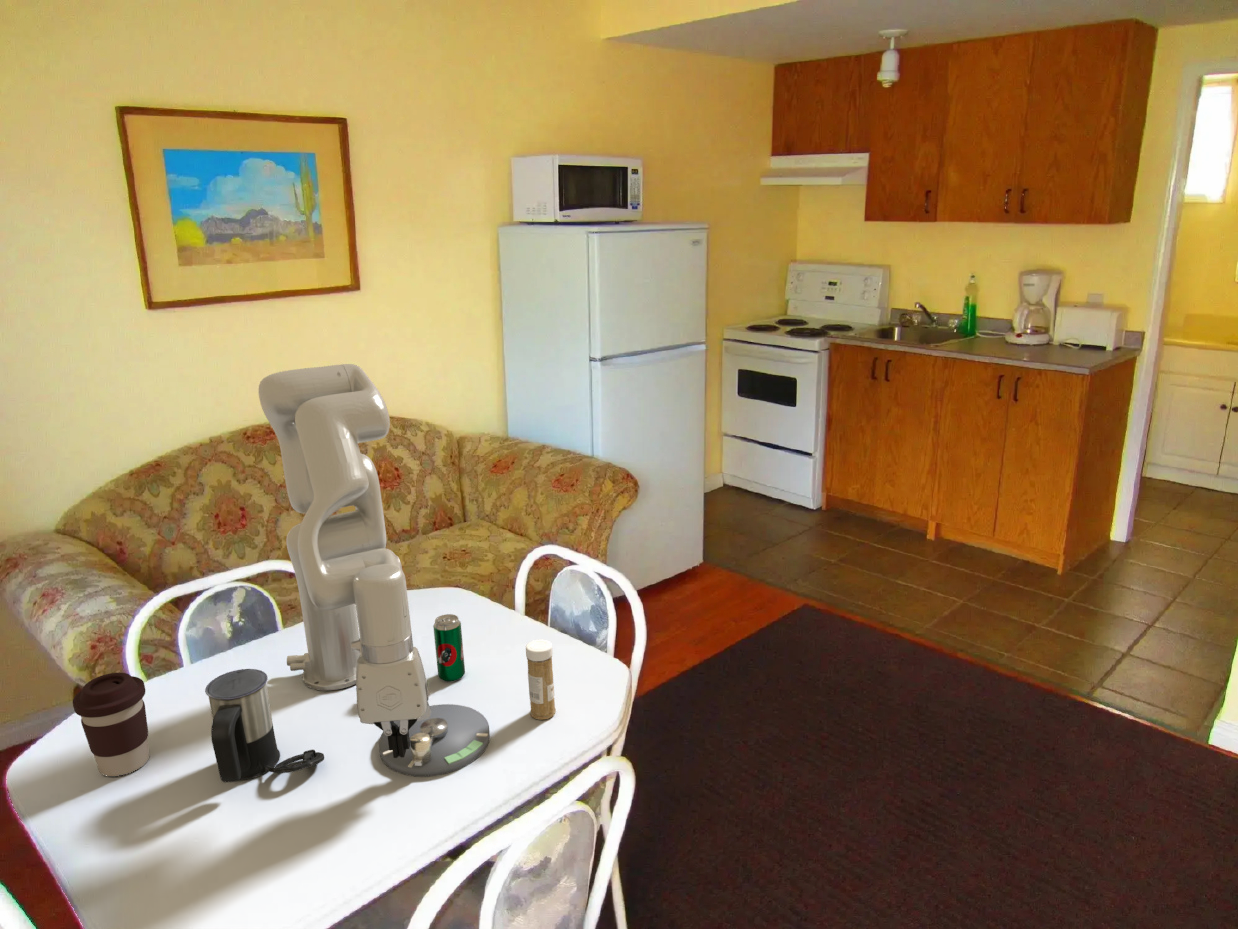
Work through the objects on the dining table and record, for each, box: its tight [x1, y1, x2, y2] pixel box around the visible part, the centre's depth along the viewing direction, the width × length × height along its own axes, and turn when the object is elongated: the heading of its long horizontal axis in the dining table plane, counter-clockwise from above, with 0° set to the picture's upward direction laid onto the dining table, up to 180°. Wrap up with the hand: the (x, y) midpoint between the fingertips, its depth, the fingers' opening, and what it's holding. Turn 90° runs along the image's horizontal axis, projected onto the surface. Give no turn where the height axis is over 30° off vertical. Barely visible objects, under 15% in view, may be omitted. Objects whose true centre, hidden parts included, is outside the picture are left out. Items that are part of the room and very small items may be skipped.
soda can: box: [432, 613, 466, 683], centre depth 162 cm, size 5×5×12 cm
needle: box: [410, 718, 448, 766], centre depth 140 cm, size 11×4×4 cm, turn 175°
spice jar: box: [525, 639, 557, 721], centre depth 150 cm, size 5×5×14 cm
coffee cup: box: [72, 672, 150, 777], centre depth 138 cm, size 10×10×15 cm
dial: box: [378, 703, 491, 778], centre depth 144 cm, size 18×18×2 cm
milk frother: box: [204, 668, 325, 783], centre depth 137 cm, size 14×16×15 cm
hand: (400, 752), depth 135 cm, fingers closed
